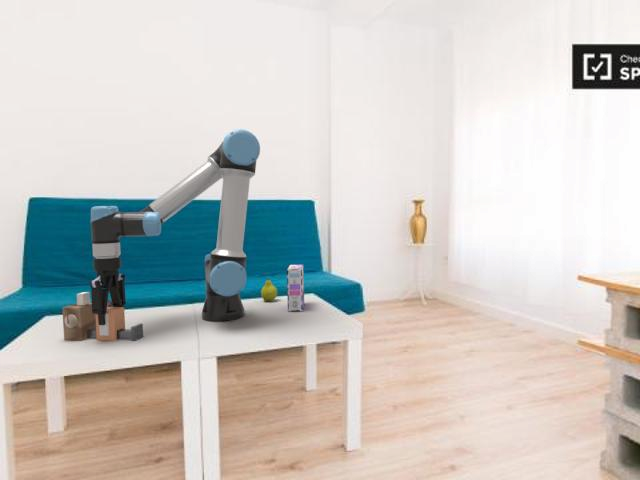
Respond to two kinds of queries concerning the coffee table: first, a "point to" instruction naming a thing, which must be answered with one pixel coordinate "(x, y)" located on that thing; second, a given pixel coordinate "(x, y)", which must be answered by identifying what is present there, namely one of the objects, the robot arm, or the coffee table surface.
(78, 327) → the cabinet
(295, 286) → the candy box
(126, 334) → the rail
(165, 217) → the robot arm
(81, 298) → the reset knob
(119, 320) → the block
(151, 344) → the coffee table surface
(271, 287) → the fruit
